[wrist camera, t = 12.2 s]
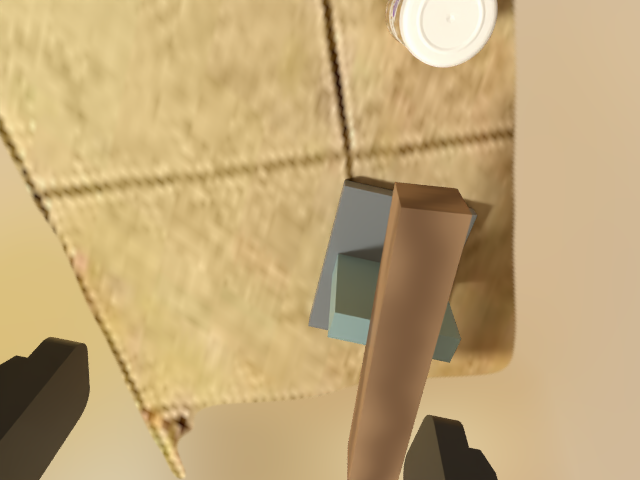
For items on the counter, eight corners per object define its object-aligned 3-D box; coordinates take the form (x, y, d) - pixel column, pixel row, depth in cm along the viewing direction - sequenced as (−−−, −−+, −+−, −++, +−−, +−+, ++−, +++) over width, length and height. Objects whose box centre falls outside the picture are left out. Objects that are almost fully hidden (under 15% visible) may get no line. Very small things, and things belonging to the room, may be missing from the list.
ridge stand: (309, 317, 47) (299, 393, 38) (344, 179, 39) (342, 233, 30) (417, 339, 47) (433, 420, 38) (473, 208, 40) (509, 270, 31)
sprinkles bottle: (389, -25, 32) (412, -44, 20) (452, -19, 32) (513, -34, 20) (380, 43, 34) (395, 64, 22) (438, 49, 34) (485, 73, 22)
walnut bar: (347, 445, 40) (347, 487, 37) (395, 182, 28) (401, 207, 24) (390, 450, 40) (394, 492, 37) (457, 188, 28) (472, 215, 24)
